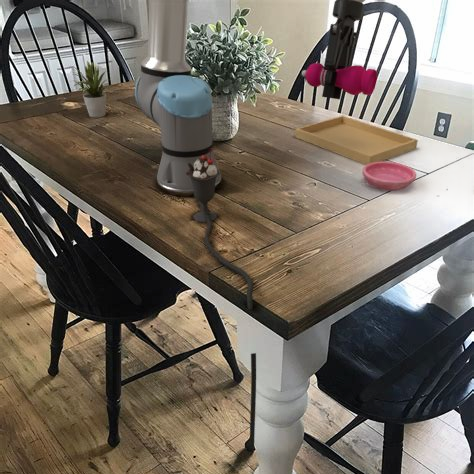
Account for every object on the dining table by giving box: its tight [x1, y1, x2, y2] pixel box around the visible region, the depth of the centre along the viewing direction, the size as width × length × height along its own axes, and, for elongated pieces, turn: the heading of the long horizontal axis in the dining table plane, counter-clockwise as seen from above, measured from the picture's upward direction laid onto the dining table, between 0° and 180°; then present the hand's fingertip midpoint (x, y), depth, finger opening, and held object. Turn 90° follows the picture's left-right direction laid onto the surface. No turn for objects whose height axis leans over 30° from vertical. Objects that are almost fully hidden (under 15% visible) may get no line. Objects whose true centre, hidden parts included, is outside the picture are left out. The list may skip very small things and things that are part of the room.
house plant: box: [69, 60, 111, 118], centre depth 171 cm, size 14×14×16 cm
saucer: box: [361, 161, 417, 192], centre depth 130 cm, size 12×12×3 cm
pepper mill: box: [301, 62, 378, 96], centre depth 144 cm, size 7×7×20 cm
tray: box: [294, 115, 419, 166], centre depth 153 cm, size 28×20×2 cm
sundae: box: [186, 147, 221, 223], centre depth 112 cm, size 7×7×15 cm
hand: (331, 97), depth 146 cm, fingers closed on pepper mill, 5 cm apart
